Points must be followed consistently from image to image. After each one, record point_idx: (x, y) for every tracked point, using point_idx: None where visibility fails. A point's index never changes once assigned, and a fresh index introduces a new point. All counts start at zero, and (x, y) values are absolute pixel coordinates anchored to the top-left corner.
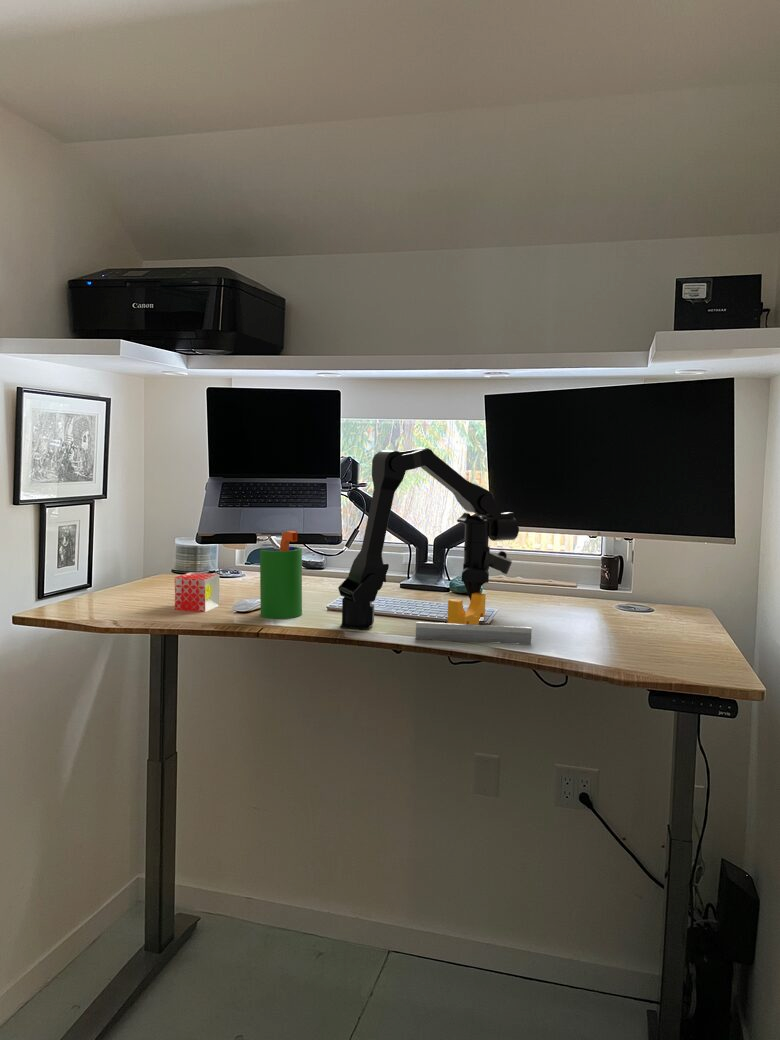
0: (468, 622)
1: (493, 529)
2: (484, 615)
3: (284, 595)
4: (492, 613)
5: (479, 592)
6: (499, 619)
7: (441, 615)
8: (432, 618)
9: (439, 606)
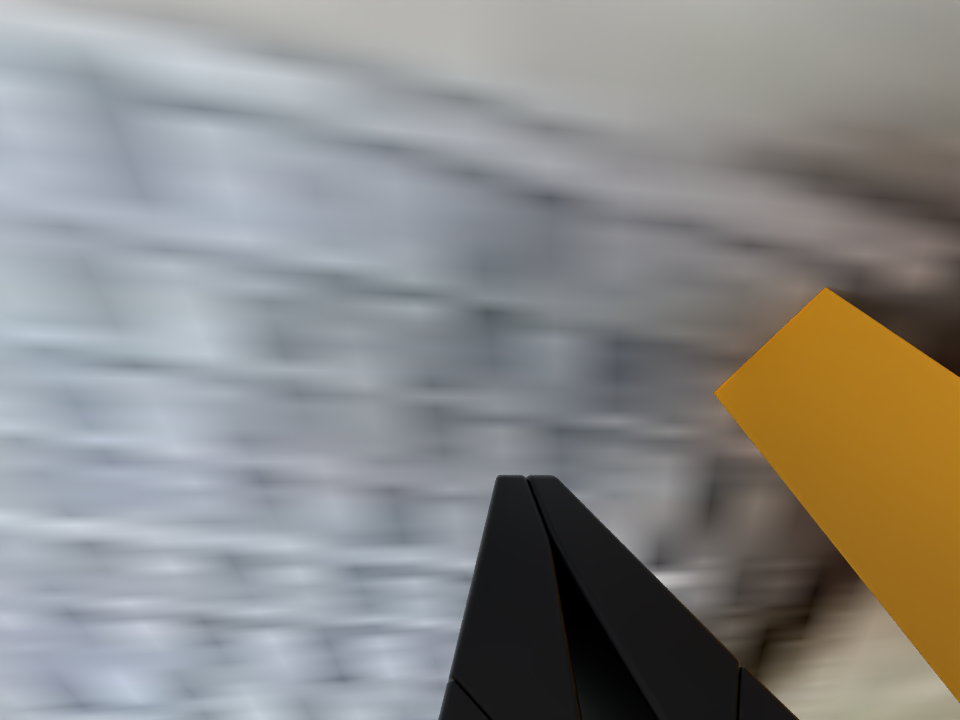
0: None
1: None
2: (882, 327)
3: None
4: (304, 117)
5: (771, 696)
6: (786, 40)
7: None
8: None
9: (86, 704)
